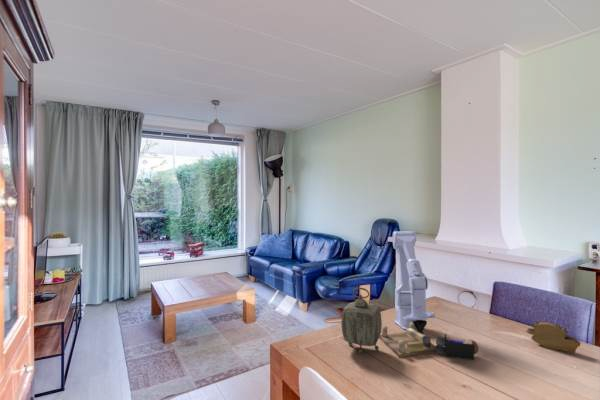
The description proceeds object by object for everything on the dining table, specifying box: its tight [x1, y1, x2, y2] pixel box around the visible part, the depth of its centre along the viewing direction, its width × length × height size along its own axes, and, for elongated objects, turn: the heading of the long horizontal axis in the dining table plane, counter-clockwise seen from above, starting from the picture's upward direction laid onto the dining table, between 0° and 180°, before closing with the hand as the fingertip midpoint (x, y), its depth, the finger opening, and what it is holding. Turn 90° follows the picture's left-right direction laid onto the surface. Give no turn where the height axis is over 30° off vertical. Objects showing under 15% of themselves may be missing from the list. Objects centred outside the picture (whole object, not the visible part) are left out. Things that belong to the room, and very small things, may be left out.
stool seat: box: [379, 323, 437, 358], centre depth 129 cm, size 17×17×5 cm
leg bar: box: [405, 328, 432, 347], centre depth 129 cm, size 11×3×3 cm, turn 24°
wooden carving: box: [525, 321, 581, 354], centre depth 123 cm, size 16×5×10 cm, turn 47°
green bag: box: [340, 287, 383, 354], centre depth 125 cm, size 14×9×25 cm, turn 65°
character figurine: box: [435, 333, 480, 361], centre depth 119 cm, size 8×7×15 cm
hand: (419, 337), depth 131 cm, fingers closed, pressing on leg bar
